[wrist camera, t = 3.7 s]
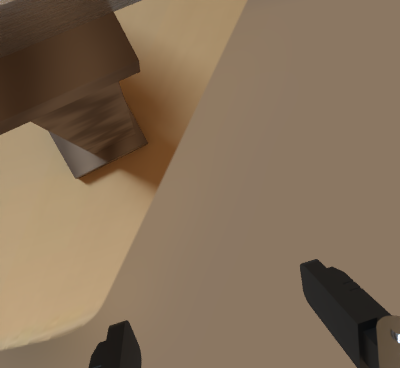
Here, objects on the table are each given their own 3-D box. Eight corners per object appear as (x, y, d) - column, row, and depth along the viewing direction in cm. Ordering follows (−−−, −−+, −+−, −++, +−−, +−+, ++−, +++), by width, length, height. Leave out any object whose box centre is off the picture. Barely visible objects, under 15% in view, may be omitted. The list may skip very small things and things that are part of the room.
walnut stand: (77, 178, 42) (-96, 164, 13) (48, 126, 42) (-209, -19, 12) (147, 143, 44) (138, 60, 15) (120, 93, 43) (52, -104, 14)
